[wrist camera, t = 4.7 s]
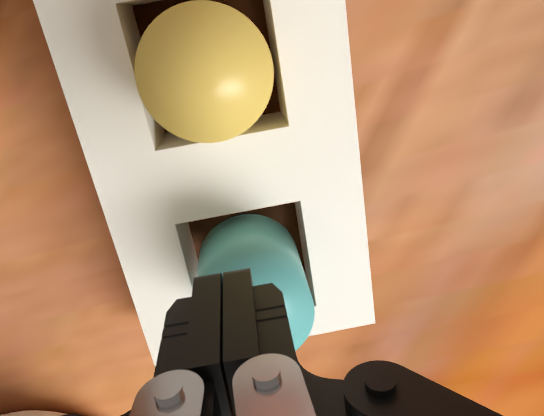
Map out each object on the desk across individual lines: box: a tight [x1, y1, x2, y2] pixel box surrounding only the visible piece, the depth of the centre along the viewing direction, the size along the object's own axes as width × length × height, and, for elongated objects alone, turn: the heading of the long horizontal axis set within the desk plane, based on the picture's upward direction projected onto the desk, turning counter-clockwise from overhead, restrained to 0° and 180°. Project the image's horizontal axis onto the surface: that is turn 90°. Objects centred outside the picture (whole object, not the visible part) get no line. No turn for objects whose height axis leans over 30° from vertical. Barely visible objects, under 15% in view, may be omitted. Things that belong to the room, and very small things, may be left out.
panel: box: [33, 0, 375, 366], centre depth 17 cm, size 10×24×3 cm, turn 9°
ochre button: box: [134, 0, 274, 143], centre depth 16 cm, size 4×4×4 cm
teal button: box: [197, 214, 315, 351], centre depth 18 cm, size 4×4×4 cm
